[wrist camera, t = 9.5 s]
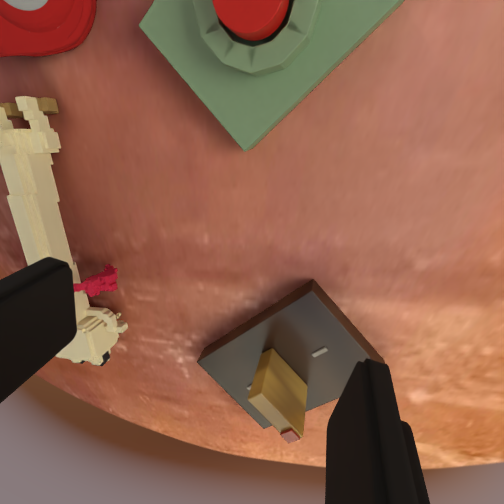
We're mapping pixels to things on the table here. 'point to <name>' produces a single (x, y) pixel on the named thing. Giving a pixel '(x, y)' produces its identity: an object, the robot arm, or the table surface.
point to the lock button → (251, 16)
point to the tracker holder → (44, 26)
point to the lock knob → (279, 395)
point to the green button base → (259, 56)
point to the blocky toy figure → (52, 222)
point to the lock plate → (291, 348)
